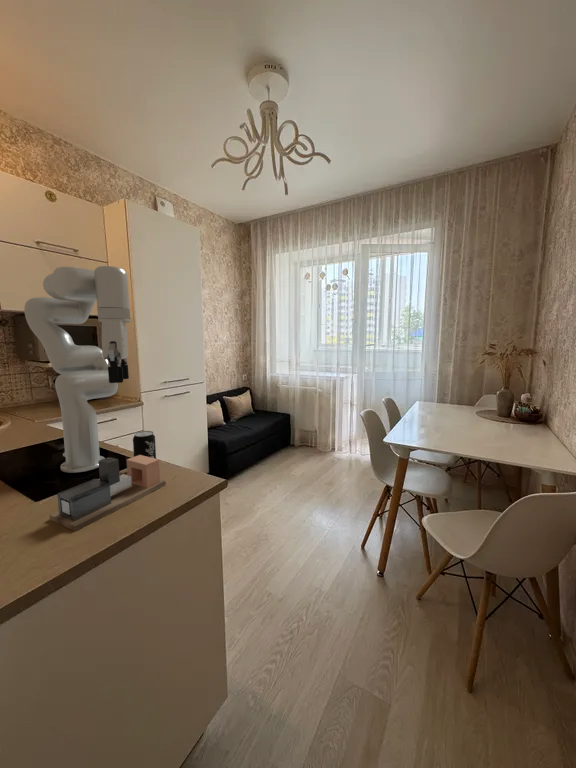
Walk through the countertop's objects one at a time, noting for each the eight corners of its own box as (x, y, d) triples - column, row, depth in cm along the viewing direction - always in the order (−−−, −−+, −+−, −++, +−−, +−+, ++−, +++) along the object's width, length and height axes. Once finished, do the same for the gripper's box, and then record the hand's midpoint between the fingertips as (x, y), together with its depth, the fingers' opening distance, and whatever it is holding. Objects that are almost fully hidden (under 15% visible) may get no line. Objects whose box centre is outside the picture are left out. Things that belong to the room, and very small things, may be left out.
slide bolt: (61, 511, 74) (58, 474, 73) (123, 483, 89) (121, 452, 87) (70, 515, 73) (67, 478, 72) (132, 486, 87) (130, 455, 86)
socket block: (128, 482, 92) (126, 459, 91) (140, 476, 96) (139, 454, 95) (147, 488, 89) (146, 464, 88) (160, 481, 93) (158, 459, 92)
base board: (50, 519, 75) (49, 514, 75) (141, 478, 98) (141, 474, 98) (75, 531, 71) (75, 526, 71) (165, 485, 93) (165, 481, 93)
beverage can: (141, 474, 100) (139, 437, 99) (130, 469, 104) (128, 433, 103) (160, 467, 106) (158, 432, 104) (149, 463, 109) (148, 429, 108)
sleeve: (59, 515, 75) (57, 493, 74) (96, 498, 83) (95, 478, 82) (74, 521, 72) (72, 499, 72) (111, 503, 80) (109, 483, 80)
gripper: (105, 318, 91) (110, 378, 93) (89, 312, 75) (96, 385, 77) (134, 319, 93) (138, 377, 95) (125, 313, 77) (130, 383, 79)
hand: (119, 380), depth 86 cm, fingers open, 9 cm apart
